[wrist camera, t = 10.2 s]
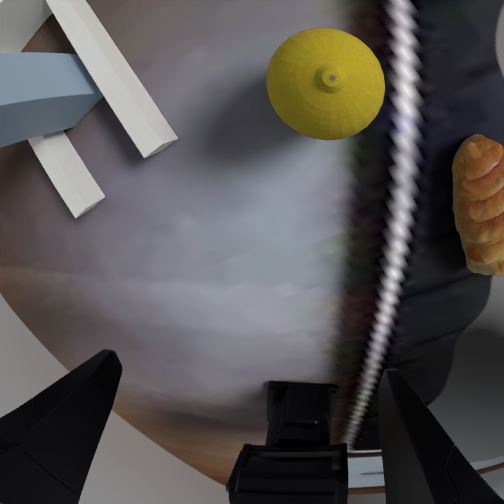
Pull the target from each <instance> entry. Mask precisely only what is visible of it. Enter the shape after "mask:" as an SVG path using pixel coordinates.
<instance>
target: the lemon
mask: <svg viewBox="0 0 504 504" xmlns="http://www.w3.org/2000/svg"><path fill="white" fill-rule="evenodd" d="M266 87H267V91H268V95H269V100H270V102H271V104H272V106H273V108H274V110H275V111H276V113H277V114H278V116H279V117H280V118H281V119H282V120H283V121H284V122H285V123H286V124H287V125H288V126H290V127H291V128H292V129H294V130H295V131H297V132H298V133H300V134H303V135H306V136H308V137H311V138H315V139H322V140H336V139H343V138H346V137H349V136H352V135H355V134H357V133H358V132H360V131H361V130H363V129H364V128H366V127H367V126H368V125H369V124H370V123H371V121H372V120H373V119H374V118H375V117H376V116H377V114H378V112H379V110H380V108H381V105H382V103H383V98H384V92H385V84H384V75H383V72H382V69H381V66H380V64H379V61H378V60H377V58H376V57H375V55H374V54H373V52H372V51H371V50H370V49H369V48H368V47H367V46H366V45H365V44H364V43H363V42H362V41H360V40H359V39H357V38H356V37H354V36H352V35H350V34H348V33H346V32H343V31H339V30H336V29H331V28H315V29H310V30H305V31H301V32H299V33H297V34H296V35H294V36H292V37H290V38H288V39H287V40H286V41H285V42H284V43H283V44H282V45H281V46H279V47H278V49H277V50H276V52H275V53H274V55H273V57H272V58H271V60H270V63H269V67H268V70H267V85H266Z"/></svg>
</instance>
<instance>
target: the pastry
mask: <svg viewBox="0 0 504 504" xmlns="http://www.w3.org/2000/svg"><path fill="white" fill-rule="evenodd" d="M452 172H453V198H454V200H453V207H452V210H453V212H454V215H455V225H456V229H457V231H458V232H459V234H460V239H461V244H462V247H463V250H464V252H465V255H466V264H467V268H468V269H469V270H470V271H472V272H474V273H481V274H483V275H489V274H492V275H494V276H504V149H503V147H502V145H500V144H499V143H497V142H495V141H493V140H490V139H487V138H485V137H484V136H483V135H479V134H476V135H473V136H471V137H469V138H467V139H466V140H464V142H463V143H462V144H461V146H460V147H459V149H458V151H457V152H456V154H455V157H454V162H453V164H452Z"/></svg>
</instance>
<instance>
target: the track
mask: <svg viewBox="0 0 504 504" xmlns="http://www.w3.org/2000/svg"><path fill="white" fill-rule="evenodd" d="M52 13H53V14H54V15H55V17H56V19H57V20H58V22H59V24H60V26H61V27H62V29H63V31H64V32H65V34H66V36H67V37H68V39H69V41H70V42H71V44H72V46H73V47H74V49H75V50H76V52H77V54H78V55H79V57H80V59H81V60H82V62H83V64H84V65H85V67H86V68H87V70H88V72H89V73H90V75H91V76H92V78H93V80H94V81H95V83H96V84H97V86H98V88H99V89H100V91H101V92H102V94H103V95H104V97H105V99H106V100H107V102H108V103H109V105H110V106H111V108H112V109H113V111H114V113H115V114H116V116H117V117H118V119H119V120H120V122H121V123H122V125H123V126H124V128H125V130H126V131H127V133H128V134H129V136H130V137H131V139H132V140H133V142H134V143H135V145H136V146H137V148H138V149H139V151H140V152H141V154H142V155H143V157H144V158H146V157H148V156H151V155H153V154H156V153H158V152H161V151H162V150H164V149H165V148H166V147H168V146H169V145H170V144H172V143H173V142H174V141H176V140H177V139H178V137H177V136H176V134H175V133H174V131H173V130H172V128H171V127H170V125H169V124H168V122H167V121H166V120H165V118H164V117H163V115H162V114H161V112H160V111H159V109H158V108H157V106H156V105H155V103H154V102H153V100H152V99H151V97H150V96H149V94H148V93H147V91H146V90H145V88H144V87H143V85H142V84H141V82H140V81H139V79H138V78H137V76H136V75H135V73H134V72H133V70H132V69H131V67H130V66H129V64H128V63H127V61H126V60H125V58H124V57H123V55H122V54H121V52H120V51H119V49H118V48H117V46H116V45H115V44H114V42H113V41H112V39H111V38H110V36H109V35H108V33H107V32H106V30H105V29H104V27H103V26H102V24H101V23H100V21H99V20H98V18H97V17H96V15H95V14H94V12H93V11H92V9H91V8H90V6H89V5H88V3H87V2H86V0H0V53H20V52H21V51H22V50H23V49H24V47H25V46H26V45H27V43H28V42H29V41H30V39H31V38H32V37H33V36H34V34H35V33H36V32H37V30H38V29H39V28H40V27H41V26H42V24H43V23H44V22H45V21H46V20H47V18H48V17H49V16H50V15H51V14H52ZM28 141H29V143H30V145H31V147H32V148H33V150H34V152H35V154H36V155H37V157H38V159H39V161H40V162H41V164H42V166H43V168H44V169H45V171H46V173H47V174H48V176H49V178H50V179H51V181H52V182H53V184H54V186H55V187H56V189H57V191H58V192H59V194H60V195H61V197H62V198H63V200H64V202H65V203H66V205H67V206H68V208H69V209H70V211H71V212H72V214H73V215H74V217H75V218H77V217H79V216H80V215H82V214H83V213H85V212H87V211H88V210H90V209H92V208H93V207H95V206H96V205H97V204H98V203H99V202H100V201H101V200H102V199H104V198H105V195H104V194H103V192H102V191H101V189H100V188H99V186H98V185H97V183H96V182H95V180H94V179H93V177H92V176H91V174H90V173H89V171H88V169H87V168H86V166H85V165H84V163H83V162H82V160H81V158H80V157H79V155H78V154H77V152H76V150H75V149H74V147H73V146H72V144H71V142H70V141H69V139H68V137H67V136H66V134H65V132H64V131H63V130H61V131H57V132H53V133H49V134H45V135H41V136H37V137H34V138H30V139H28Z"/></svg>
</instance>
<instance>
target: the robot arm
mask: <svg viewBox="0 0 504 504" xmlns="http://www.w3.org/2000/svg"><path fill="white" fill-rule="evenodd" d="M121 374H122V365H121V363H120V361H119V358H118V356H117V354H116V352H115V351H113V350H108V349H104V350H102V351H100V352H99V353H97V354H96V355H94V356H93V357H91V358H90V359H89V360H87V361H86V362H84V363H83V364H81V365H80V366H78V367H77V368H75V369H74V370H72V371H71V372H70V373H68V374H67V375H65V376H64V377H62V378H61V379H59V380H58V381H56V382H55V383H54V384H52V385H51V386H49V387H48V388H46V389H45V390H43V391H42V392H40V393H39V394H37V395H36V396H34V398H31V399H30V400H29V401H27V402H26V403H24V404H23V405H21V406H20V407H18V408H16V409H15V410H13V411H12V412H10V413H8V414H6V415H5V416H3V417H1V418H0V504H78V502H79V499H80V495H81V492H82V490H83V486H84V484H85V481H86V478H87V475H88V472H89V469H90V466H91V463H92V460H93V458H94V455H95V452H96V449H97V446H98V444H99V441H100V438H101V435H102V433H103V430H104V428H105V425H106V422H107V419H108V417H109V414H110V412H111V409H112V406H113V403H114V399H115V396H116V392H117V388H118V385H119V381H120V378H121ZM338 394H339V387H338V386H337V385H324V384H302V383H286V382H270V383H269V384H268V409H267V421H268V422H269V425H268V431H267V437H266V443H265V445H251V444H244V446H243V449H242V451H240V454H239V456H238V459H237V461H236V464H235V466H234V469H233V471H232V474H231V476H230V478H229V481H228V483H227V484H226V491H227V492H228V493H229V502H230V504H347V498H348V458H347V443H340V445H331V420H332V417H333V413H334V409H335V405H336V402H337V398H338ZM379 417H380V442H381V450H382V460H383V470H384V481H385V494H386V504H504V500H503V499H502V498H501V497H500V496H498V495H497V494H496V493H495V491H494V490H493V489H492V488H491V487H490V486H489V485H488V484H487V483H486V481H485V480H484V479H483V478H482V477H481V476H480V475H479V474H478V473H477V472H476V470H475V469H474V468H473V467H472V466H471V465H470V463H469V462H468V461H467V460H466V458H465V457H464V456H463V454H462V453H461V452H460V450H459V449H458V448H457V446H454V445H455V444H454V442H453V441H452V440H451V438H450V437H449V436H448V434H447V433H446V431H445V430H444V429H443V427H442V426H441V425H440V423H439V422H438V421H437V419H436V418H435V417H434V415H433V414H432V413H431V411H430V410H429V409H428V407H427V406H426V405H425V403H424V402H423V401H422V399H421V398H420V397H419V396H418V394H417V393H416V392H415V390H414V389H413V388H412V386H411V385H410V384H409V383H408V381H407V380H406V379H405V377H404V376H403V375H402V374H401V372H400V371H399V370H398V369H387V370H385V372H384V374H383V377H382V380H381V383H380V387H379Z"/></svg>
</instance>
